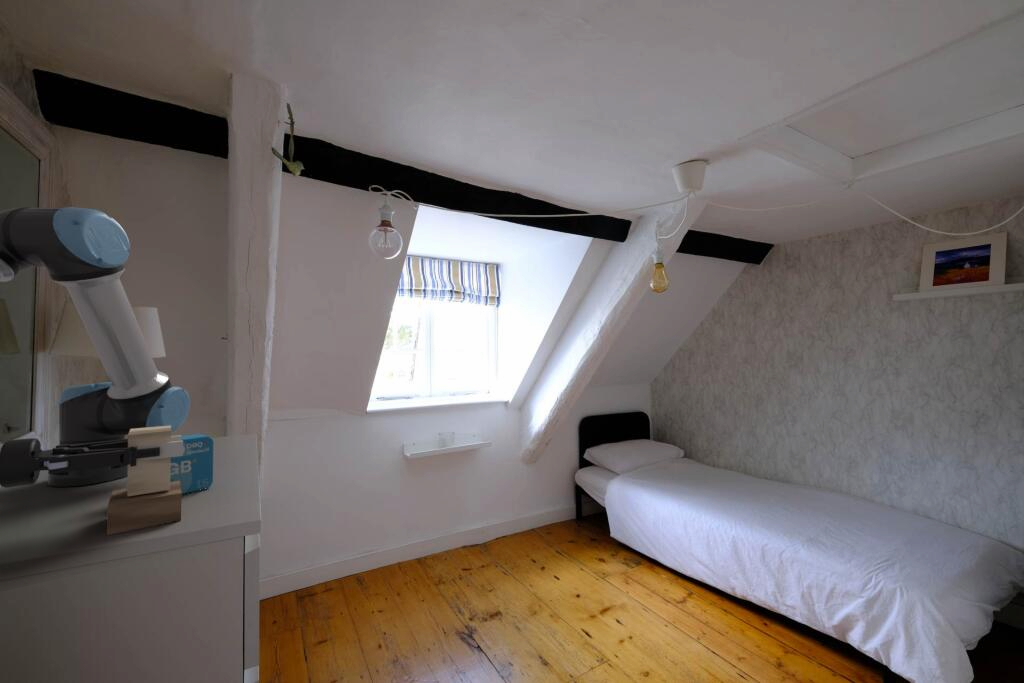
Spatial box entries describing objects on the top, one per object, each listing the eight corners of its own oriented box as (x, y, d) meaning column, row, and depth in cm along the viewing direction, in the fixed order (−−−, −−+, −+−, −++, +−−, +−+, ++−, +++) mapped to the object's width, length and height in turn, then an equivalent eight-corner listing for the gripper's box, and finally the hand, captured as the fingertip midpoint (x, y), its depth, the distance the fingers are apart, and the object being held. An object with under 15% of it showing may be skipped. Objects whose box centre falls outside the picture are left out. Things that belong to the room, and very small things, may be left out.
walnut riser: (112, 517, 82) (112, 490, 82) (179, 505, 88) (179, 480, 88) (107, 534, 74) (107, 505, 74) (181, 520, 80) (181, 493, 80)
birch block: (129, 487, 82) (130, 428, 82) (170, 481, 86) (170, 425, 86) (127, 496, 77) (128, 434, 77) (170, 489, 81) (171, 430, 81)
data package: (146, 502, 90) (147, 444, 90) (139, 498, 92) (140, 441, 92) (213, 487, 99) (214, 435, 99) (205, 484, 102) (206, 432, 102)
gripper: (16, 474, 77) (180, 455, 92) (-18, 504, 62) (183, 475, 77) (17, 432, 77) (181, 419, 92) (-17, 451, 63) (184, 432, 77)
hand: (182, 445), depth 84 cm, fingers closed on birch block, 6 cm apart
